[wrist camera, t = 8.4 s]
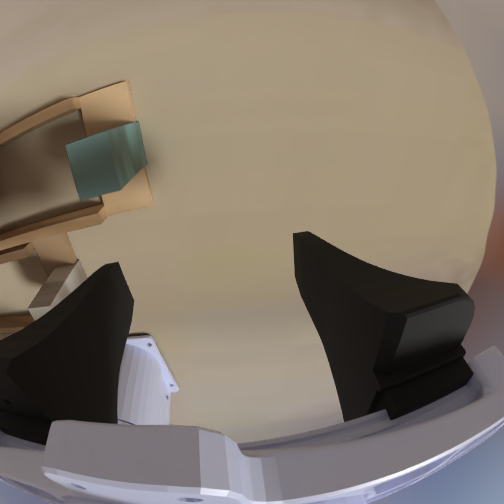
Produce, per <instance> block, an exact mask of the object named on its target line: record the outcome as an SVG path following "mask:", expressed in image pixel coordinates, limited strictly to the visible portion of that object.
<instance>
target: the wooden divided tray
mask: <svg viewBox="0 0 504 504" xmlns="http://www.w3.org/2000/svg"><path fill="white" fill-rule="evenodd" d="M80 109H81V111H82V116H83V121H84V126H85V131H86V136H87V137H86V138H83V139H81V140H78V141H75V142H73V143H70V144H68V145H65V146H66V151H67V155H68V159H69V163H70V167H71V170H72V174H73V178H74V181H75V185H76V188H77V192H78V195H79V198H80V201H82V200H86V199H89V198H93V197H97V196H102V199H103V203H104V204H100V205H96V206H92V207H88V208H85V209H81V210H77V211H74V212H70V213H66V214H63V215H59V216H56V217H53V218H49V219H46V220H43V221H39V222H36V223H33V224H30V225H27V226H24V227H21V228H17V229H15V230H12V231H9V232H6V233H3V234H0V251H1V250H4V249H7V248H11V247H14V246H18V245H21V244H25V243H28V242H32V241H35V240H39V239H43V238H47V237H50V236H54V235H58V234H62V233H66V232H70V231H74V230H78V229H82V228H87V227H91V226H95V225H99V224H102V222H103V221H104V220H105V219H106V217H107V216H110V215H114V214H118V213H123V212H127V211H132V210H137V209H141V208H146V207H151V206H153V204H154V202H153V198H152V194H151V190H150V186H149V182H148V177H147V173H146V169H145V165H146V164H147V160H146V155H145V150H144V146H143V141H142V136H141V130H140V125H139V121H137V122H136V120H135V114H134V108H133V102H132V96H131V90H130V83H129V81H124V82H121V83H118V84H115V85H112V86H109V87H106V88H103V89H100V90H97V91H94V92H92V93H89V94H86V95H84V96H81V97H75V98H68V99H66V100H64V101H61V102H59V103H57V104H55V105H52V106H50V107H48V108H46V109H44V110H42V111H40V112H38V113H36V114H34V115H32V116H30V117H28V118H26V119H24V120H22V121H20V122H19V123H17V124H15V125H13V126H11V127H10V128H8V129H6V130H5V131H3V132H1V133H0V147H1V146H3V145H5V144H7V143H8V142H10V141H12V140H14V139H16V138H18V137H20V136H22V135H24V134H25V133H27V132H29V131H31V130H34V129H36V128H38V127H40V126H42V125H44V124H46V123H48V122H51V121H53V120H55V119H58V118H60V117H62V116H65V115H67V114H69V113H72V112H74V111H77V110H80Z"/></svg>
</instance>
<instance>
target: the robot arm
mask: <svg viewBox="0 0 504 504" xmlns="http://www.w3.org/2000/svg"><path fill="white" fill-rule="evenodd" d="M293 245H294V267H295V278H296V281H297V285H298V288H299V291H300V294H301V297H302V299H303V301H304V303H305V306H306V308H307V310H308V312H309V314H310V316H311V319H312V321H313V323H314V325H315V327H316V329H317V331H318V334H319V336H320V338H321V341H322V343H323V346H324V349H325V352H326V355H327V358H328V361H329V365H330V368H331V371H332V375H333V378H334V382H335V386H336V389H337V393H338V397H339V401H340V405H341V409H342V414H343V418H344V423H340V424H336V425H333V426H329V427H325V428H321V429H317V430H313V431H309V432H304V433H300V434H295V435H290V436H285V437H279V438H274V439H268V440H261V441H255V442H247V443H239V444H236V443H235V442H234V441H232V440H231V439H229V438H228V437H227V436H225V435H224V434H222V433H221V432H218V431H214V430H210V429H206V428H202V427H198V426H183V425H169V414H170V397H171V392H177V391H179V387H178V385H177V383H176V382H175V380H174V378H173V376H172V374H171V373H170V371H169V369H168V367H167V365H166V363H165V361H164V359H163V357H162V356H161V354H160V352H159V350H158V348H157V346H156V344H155V342H154V340H153V338H152V337H151V336H149V335H143V336H132V337H128V334H129V330H130V326H131V322H132V315H133V306H134V299H133V297H132V295H131V292H130V290H129V287H128V285H127V283H126V280H125V278H124V275H123V273H122V270H121V268H120V265H119V262H115V263H109V264H105V265H104V266H102V267H101V268H99V269H98V270H97V271H96V272H94V273H93V274H92V275H91V276H90V277H88V278H87V279H86V280H85V281H84V282H83V283H82V284H80V285H79V286H78V287H77V288H76V289H75V290H74V291H73V292H71V293H70V294H69V295H68V296H67V297H65V298H64V299H63V300H62V301H61V302H60V303H58V304H57V305H56V306H55V307H53V308H52V309H51V310H50V311H48V312H47V313H46V314H44V315H43V316H41V317H40V318H39V319H37V320H35V321H34V322H32V323H31V324H29V325H28V326H26V327H25V328H23V329H21V330H20V331H18V332H16V333H14V334H12V335H10V336H8V337H6V338H5V339H2V340H0V480H1V481H2V482H4V483H6V484H8V485H10V486H12V487H14V488H16V489H18V490H20V491H23V492H25V493H27V494H29V495H32V496H34V497H36V498H39V499H41V500H44V501H46V502H49V503H51V504H367V503H370V502H373V501H375V500H378V499H380V498H383V497H385V496H387V495H390V494H392V493H394V492H396V491H399V490H401V489H403V488H405V487H407V486H409V485H411V484H413V483H415V482H417V481H419V480H421V479H423V478H425V477H427V476H429V475H431V474H432V473H434V472H436V471H438V470H440V469H441V468H443V467H445V466H446V465H448V464H450V463H451V462H453V461H454V460H456V459H458V458H459V457H461V456H462V455H464V454H465V453H467V452H468V451H470V450H471V449H473V448H474V447H476V446H477V445H479V444H480V443H482V442H483V441H484V440H486V439H487V438H488V437H490V436H491V435H492V434H494V433H495V432H496V431H497V430H498V429H499V428H500V427H501V426H502V425H503V424H504V357H503V355H502V354H501V353H500V352H499V350H498V349H497V348H496V346H493V347H491V348H489V349H488V350H486V351H484V352H482V353H481V354H479V355H477V356H475V357H474V358H473V359H472V360H471V361H470V362H469V363H468V364H467V363H466V361H465V360H464V358H463V356H464V355H465V354H466V351H465V349H464V348H463V347H462V345H461V343H462V341H463V339H464V337H465V335H466V333H467V331H468V329H469V327H470V324H471V322H472V319H473V316H474V308H475V306H474V302H473V300H472V299H471V298H470V297H469V296H468V295H467V293H466V292H465V291H464V290H463V289H462V288H461V287H460V286H459V285H458V284H454V283H445V282H436V281H429V280H424V279H419V278H414V277H409V276H405V275H402V274H398V273H395V272H391V271H388V270H385V269H382V268H379V267H377V266H374V265H372V264H369V263H367V262H364V261H362V260H360V259H358V258H356V257H354V256H352V255H350V254H348V253H346V252H344V251H342V250H340V249H338V248H337V247H335V246H333V245H331V244H330V243H328V242H326V241H325V240H323V239H321V238H319V237H318V236H316V235H314V234H312V233H311V232H308V231H306V232H299V233H293ZM149 343H150V344H149Z"/></svg>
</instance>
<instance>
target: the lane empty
mask: <svg viewBox="0 0 504 504" xmlns="http://www.w3.org/2000/svg"><path fill="white" fill-rule="evenodd" d="M35 249H36V251H37V254H38V256H39V258H40V260H41V263H42V265H43V267H44V269H45V271H46V273H47V275H48V279H47V280H46V282H45V283H44V284H43V286H42V287H41V289H40V290H39V292H38V293H37V295H36V296H35V298H34V299H33V301H32V302H31V304H30V306H29V307H28V310H29V312H30V313H31V315H19V316H6V317H0V334H5V333H16V332H18V331H20V330H21V329H23V328H25V327H26V326H28V325H29V324H31V323H32V322H34V321H35V320H37V319H39V318H40V317H41V316H43V315H44V314H46V313H47V312H48V311H50V310H51V309H52V308H53V307H55V306H56V305H57V304H58V303H60V302H61V301H62V300H63V299H64V298H65V297H67V296H68V295H69V294H70V293H71V292H73V291H74V290H75V289H76V288H77V287H78V286H79V285H80V284H82V283H83V282H84V281H85V280H86V279H87V277H86V274H85V272H84V270H83V268H82V265H81V263H80V261H79V260H77V258H76V256H75V253H74V251H73V249H72V246H71V244H70V241H69V238H68V236H67V233H62V234H58V235H54V236H50V237H47V238H43V239H39V240H35V241H32V242H28V243H25V244H21V245H18V246H14V247H11V248H7V249H4V250H1V251H0V264H3V263H7V262H11V261H15V260H19V259H23V258H27V257H28V256H29V255H30V254H31V253H32V252H33V251H34V250H35Z"/></svg>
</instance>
